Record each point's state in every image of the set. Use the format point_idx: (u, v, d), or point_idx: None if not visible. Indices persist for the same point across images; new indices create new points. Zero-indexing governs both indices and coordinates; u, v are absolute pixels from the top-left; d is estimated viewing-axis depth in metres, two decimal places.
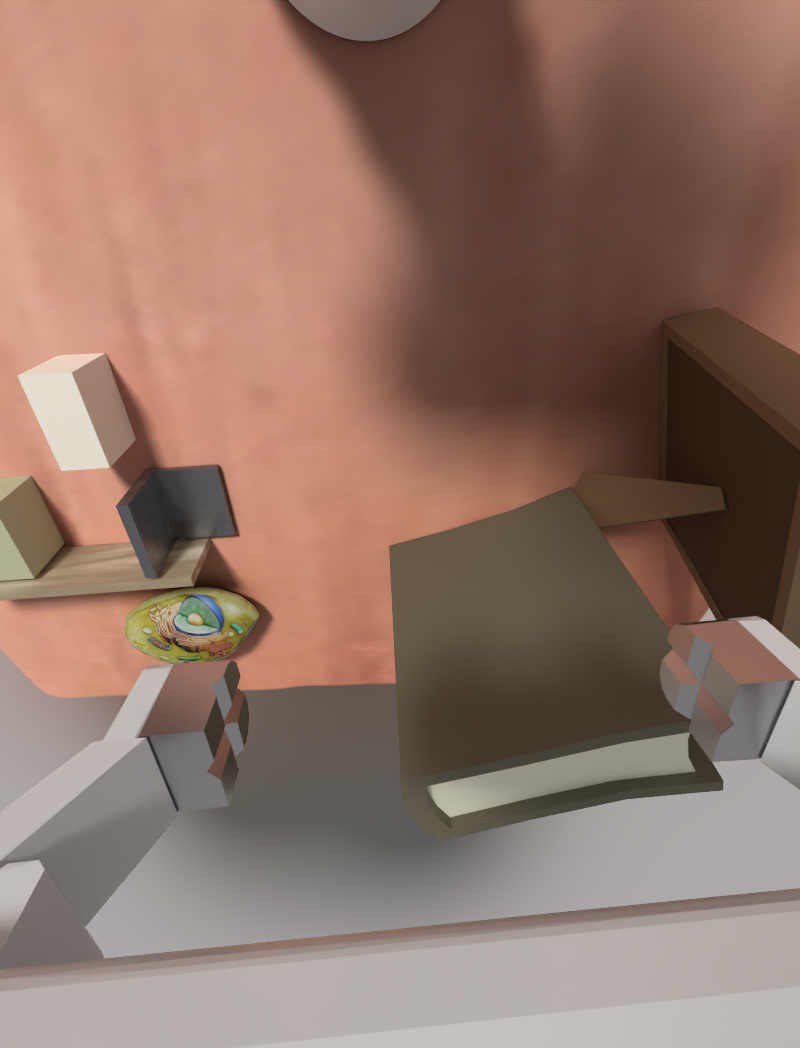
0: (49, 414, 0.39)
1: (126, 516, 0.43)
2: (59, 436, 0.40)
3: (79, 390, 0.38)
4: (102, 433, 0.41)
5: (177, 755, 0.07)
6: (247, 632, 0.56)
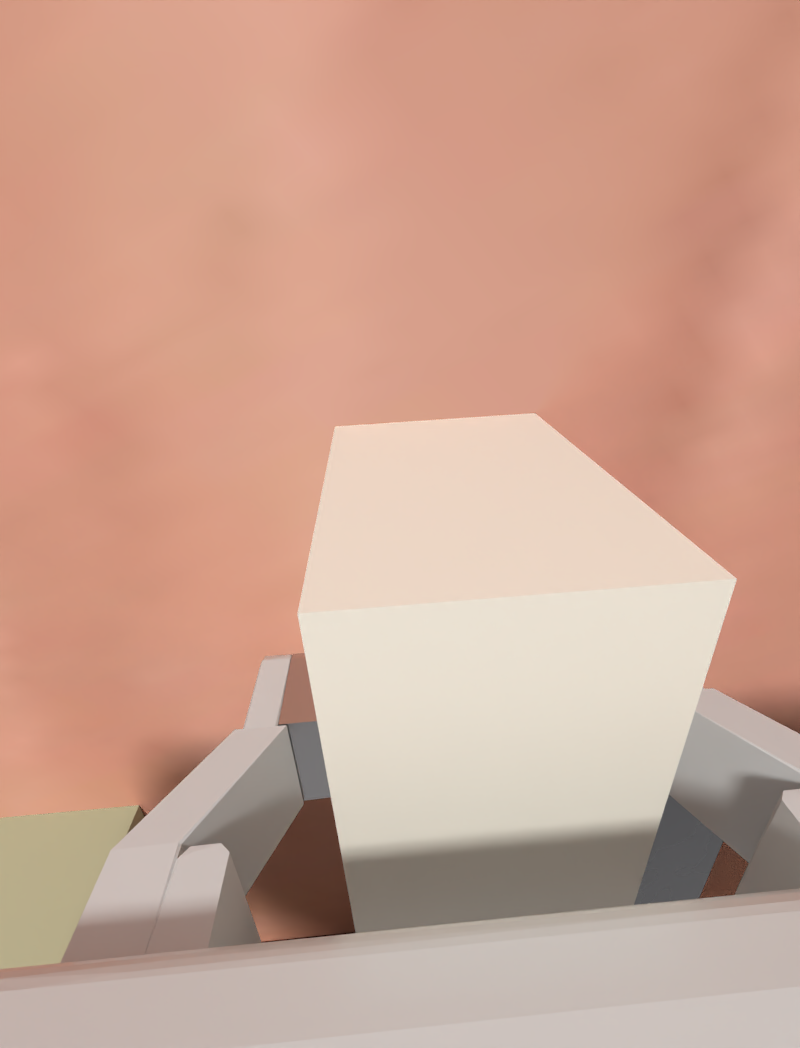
0: (425, 817, 0.06)
1: None
2: (429, 901, 0.07)
3: (692, 684, 0.05)
4: None
5: (312, 743, 0.07)
6: None
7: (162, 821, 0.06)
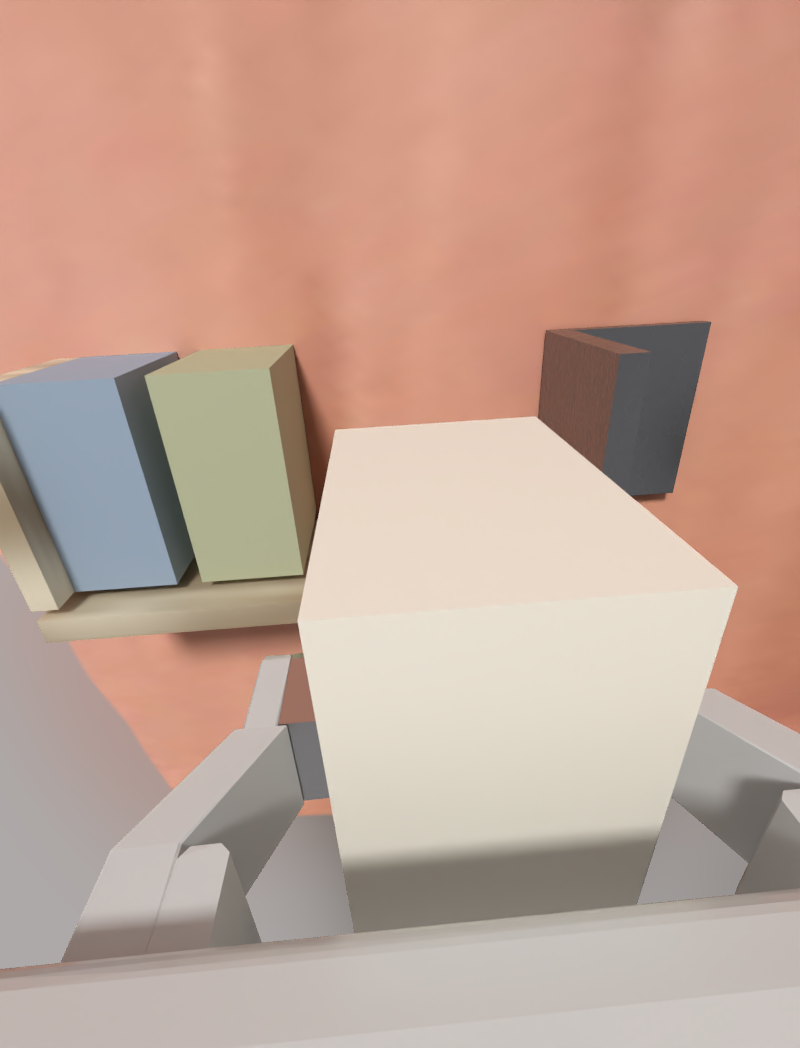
0: (426, 824, 0.06)
1: (630, 389, 0.16)
2: (430, 907, 0.07)
3: (693, 690, 0.05)
4: None
5: (312, 743, 0.07)
6: None
7: (162, 821, 0.06)
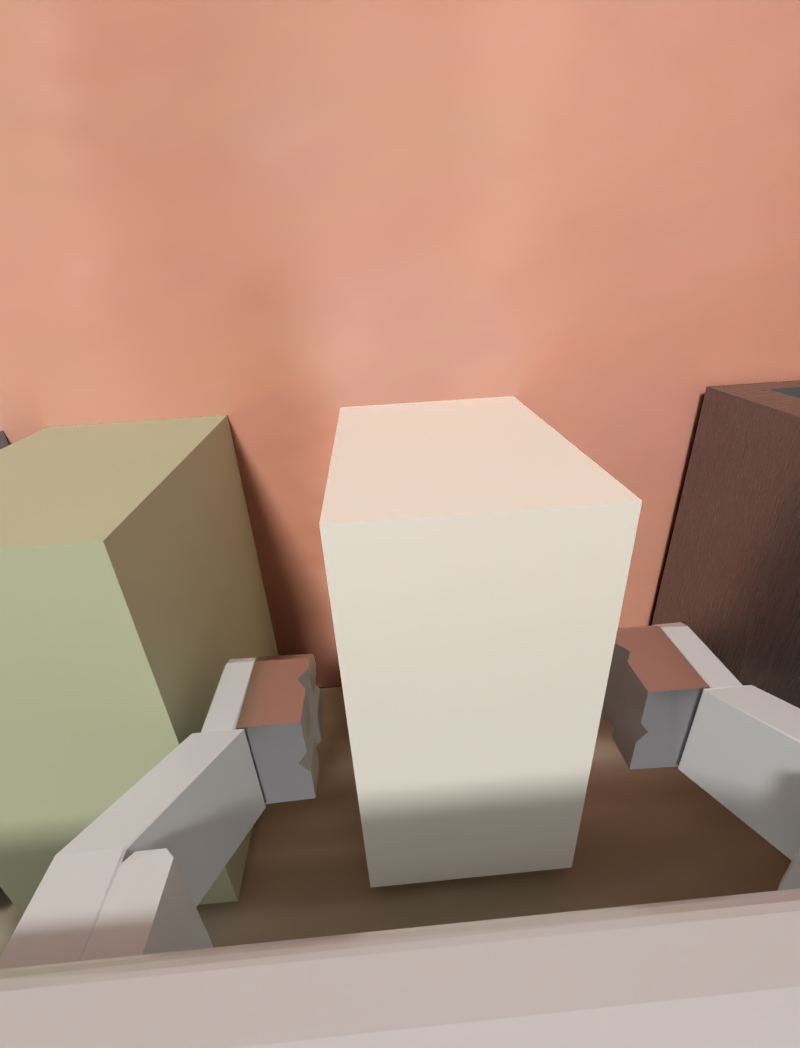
0: (415, 702, 0.07)
1: None
2: (419, 782, 0.08)
3: (618, 589, 0.07)
4: None
5: (271, 746, 0.07)
6: None
7: (110, 825, 0.06)
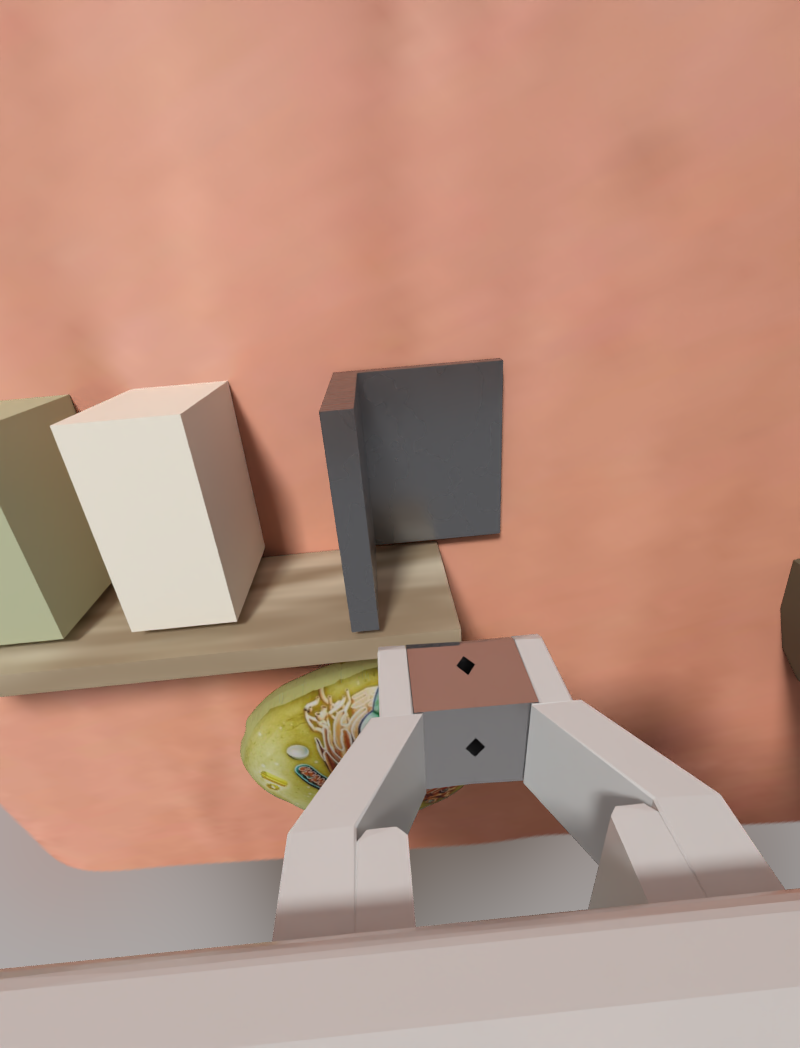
0: (117, 513, 0.17)
1: (341, 447, 0.15)
2: (135, 561, 0.17)
3: (193, 456, 0.16)
4: (226, 548, 0.18)
5: (443, 731, 0.07)
6: None
7: (329, 805, 0.06)
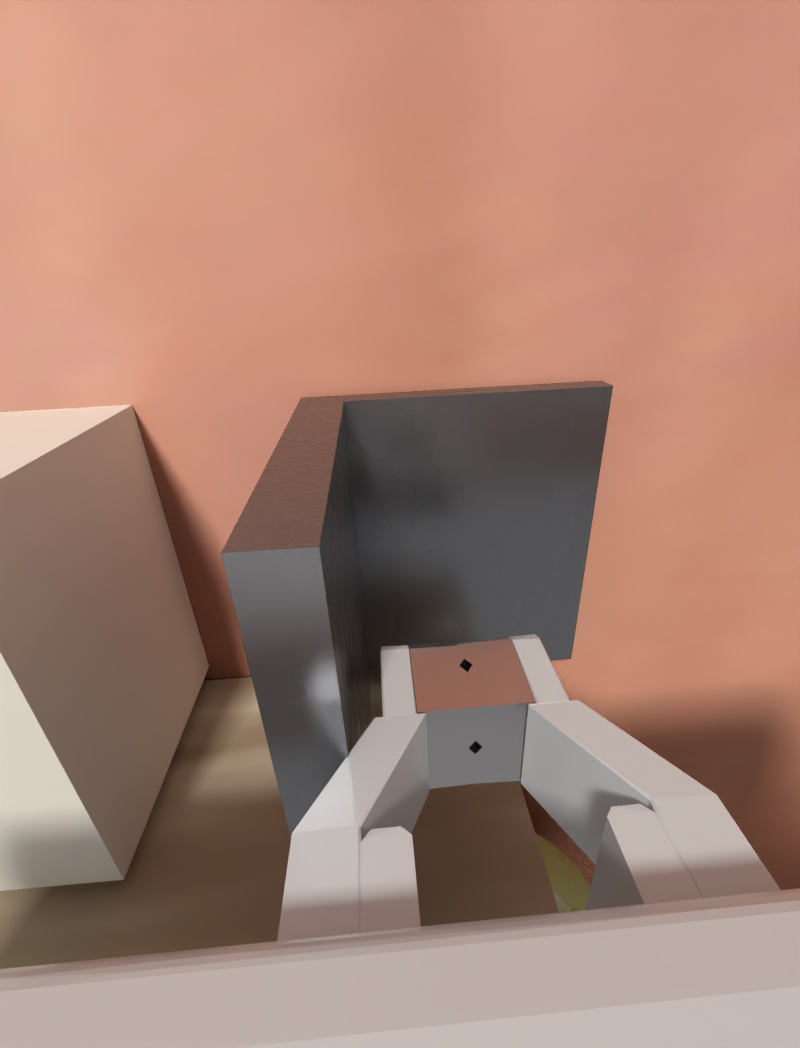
0: None
1: (288, 634, 0.06)
2: None
3: None
4: (102, 746, 0.09)
5: (447, 731, 0.07)
6: None
7: (334, 804, 0.06)
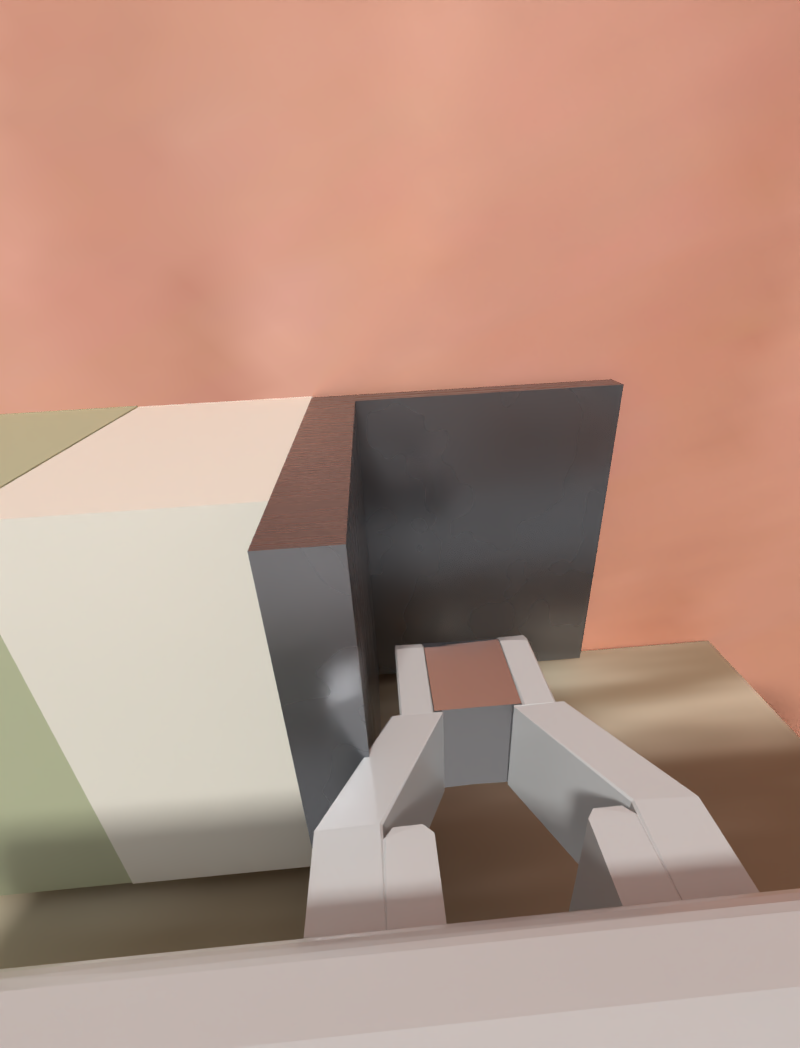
0: (109, 700, 0.07)
1: (311, 632, 0.06)
2: (144, 779, 0.08)
3: None
4: None
5: (463, 730, 0.07)
6: None
7: (355, 803, 0.06)
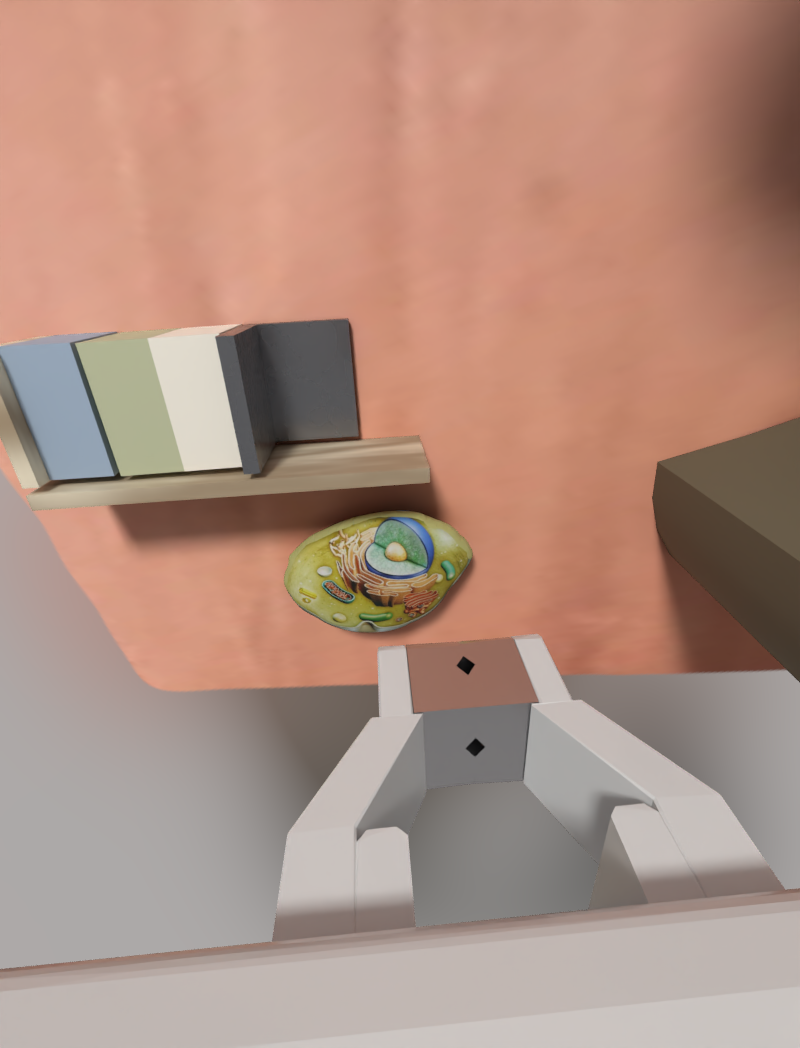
0: (181, 392, 0.29)
1: (228, 357, 0.27)
2: (189, 423, 0.30)
3: None
4: None
5: (443, 731, 0.07)
6: (457, 578, 0.39)
7: (329, 805, 0.06)
